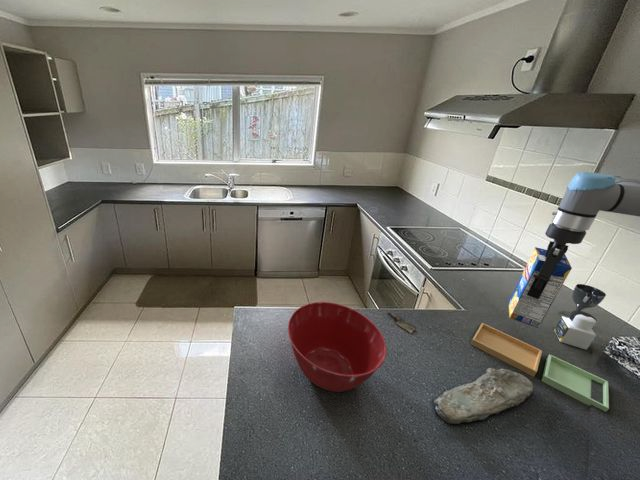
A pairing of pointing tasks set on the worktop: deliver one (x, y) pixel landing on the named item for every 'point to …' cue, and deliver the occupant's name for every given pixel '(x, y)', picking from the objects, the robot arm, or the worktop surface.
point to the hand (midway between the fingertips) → (535, 289)
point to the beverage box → (536, 309)
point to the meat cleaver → (401, 323)
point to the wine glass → (586, 297)
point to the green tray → (573, 381)
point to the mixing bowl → (335, 345)
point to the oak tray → (507, 349)
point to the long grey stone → (483, 396)
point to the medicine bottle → (576, 329)
